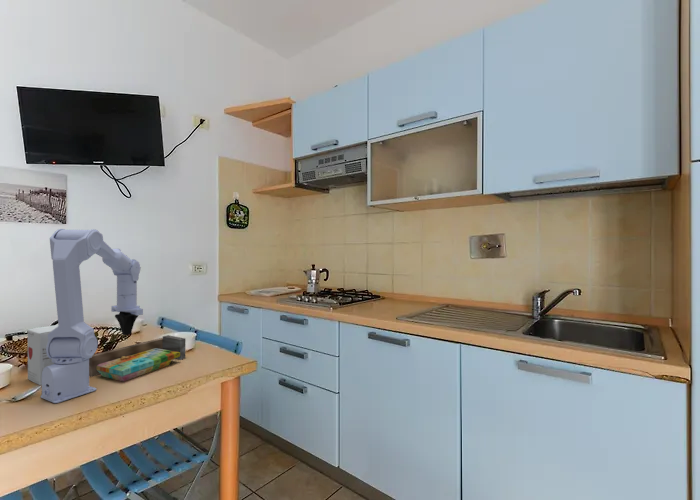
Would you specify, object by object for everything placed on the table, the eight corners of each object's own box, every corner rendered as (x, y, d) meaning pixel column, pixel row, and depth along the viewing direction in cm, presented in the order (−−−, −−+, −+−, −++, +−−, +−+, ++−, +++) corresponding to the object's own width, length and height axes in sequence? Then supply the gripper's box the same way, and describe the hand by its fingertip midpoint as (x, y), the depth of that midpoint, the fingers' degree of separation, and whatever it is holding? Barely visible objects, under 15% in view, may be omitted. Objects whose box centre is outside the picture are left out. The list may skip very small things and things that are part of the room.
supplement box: (26, 379, 103) (26, 328, 103) (63, 370, 111) (63, 323, 111) (39, 386, 99) (39, 332, 99) (76, 376, 107) (76, 326, 106)
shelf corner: (110, 382, 102) (110, 358, 102) (88, 375, 107) (88, 352, 107) (185, 358, 124) (185, 338, 124) (164, 353, 129) (164, 334, 129)
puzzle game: (96, 362, 106) (155, 345, 124) (96, 378, 106) (155, 359, 124) (122, 368, 101) (180, 349, 120) (122, 384, 101) (180, 363, 120)
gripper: (151, 294, 120) (151, 334, 120) (126, 291, 126) (125, 329, 126) (130, 297, 113) (130, 339, 114) (104, 294, 120) (104, 333, 120)
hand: (126, 334), depth 120 cm, fingers closed
